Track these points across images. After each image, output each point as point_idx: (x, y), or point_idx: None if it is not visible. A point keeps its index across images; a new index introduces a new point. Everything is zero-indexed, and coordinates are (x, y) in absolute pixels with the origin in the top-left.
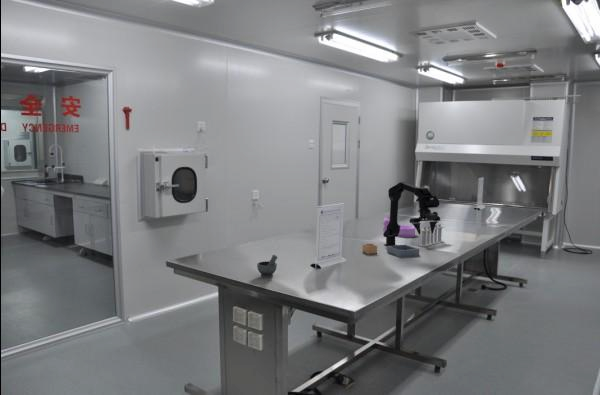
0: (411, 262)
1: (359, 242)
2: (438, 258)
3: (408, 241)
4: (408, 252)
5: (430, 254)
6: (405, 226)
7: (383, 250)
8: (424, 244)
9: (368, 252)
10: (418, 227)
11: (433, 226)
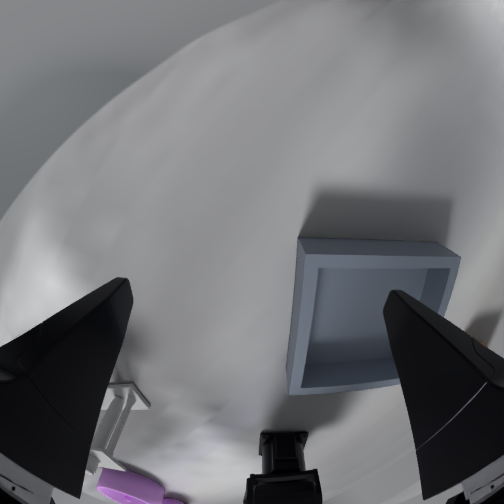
0: (454, 111)
1: (346, 475)
2: (220, 104)
3: (157, 453)
4: (397, 249)
5: (195, 231)
6: (119, 500)
7: (384, 391)
8: (119, 399)
9: (484, 345)
10: (494, 355)
11: (48, 346)
